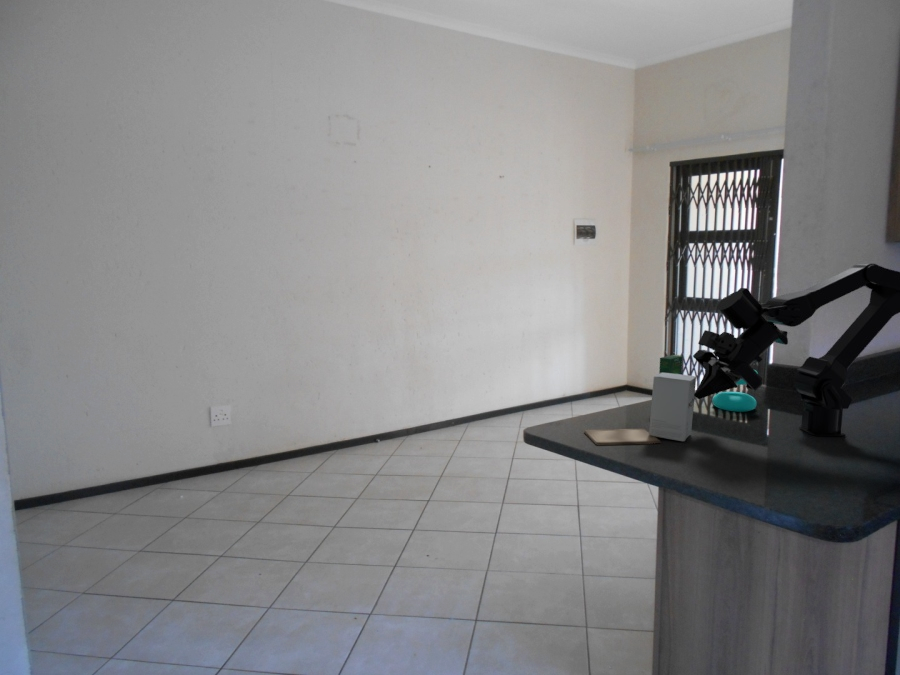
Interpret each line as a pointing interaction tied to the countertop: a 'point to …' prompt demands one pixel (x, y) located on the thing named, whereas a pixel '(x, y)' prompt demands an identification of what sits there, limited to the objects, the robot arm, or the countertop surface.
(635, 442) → the wooden board
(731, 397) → the donuts
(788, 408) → the countertop surface
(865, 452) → the countertop surface
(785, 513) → the countertop surface
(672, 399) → the supplement box
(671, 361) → the coffee box
